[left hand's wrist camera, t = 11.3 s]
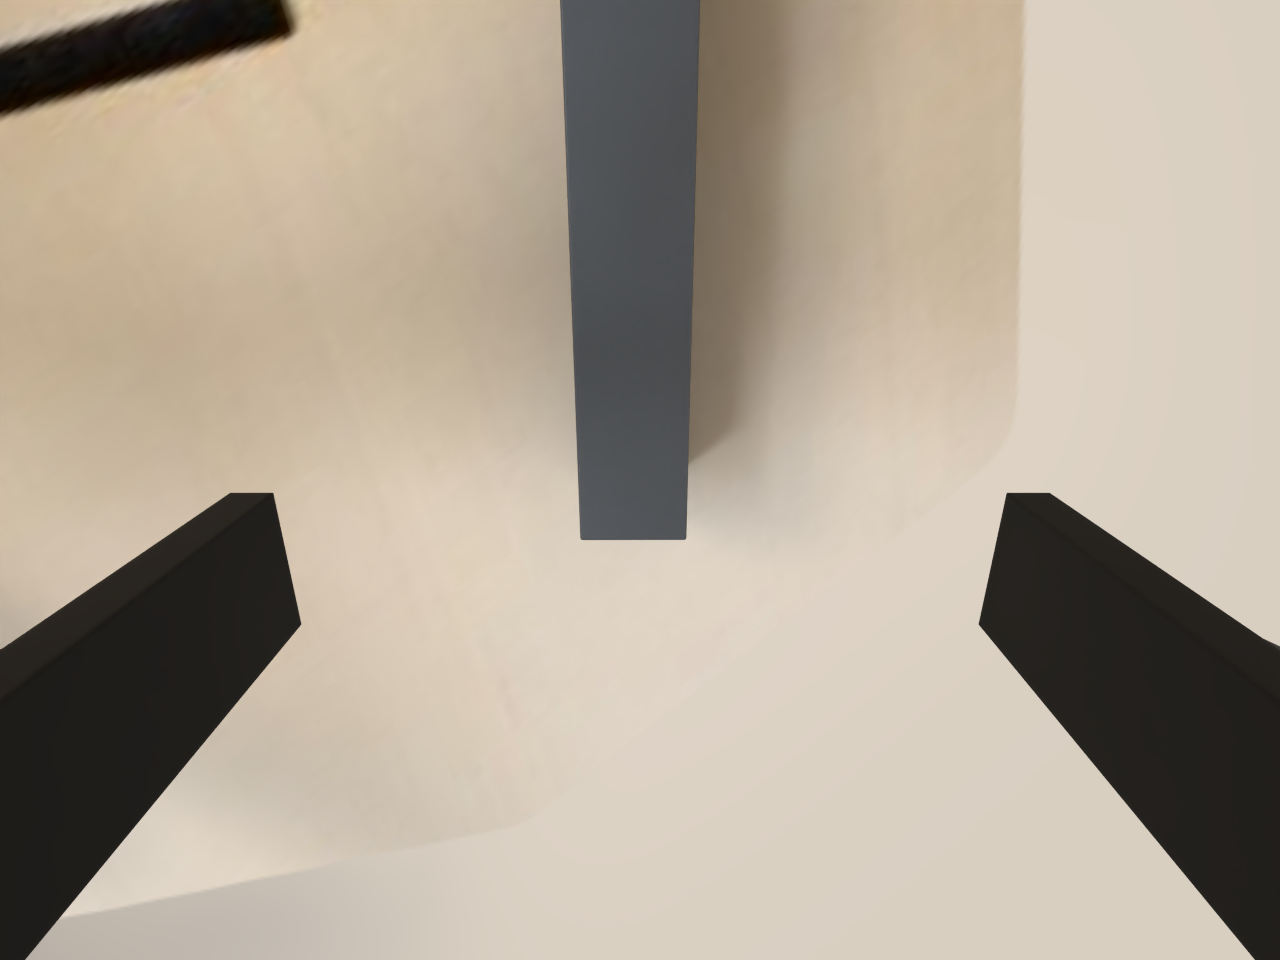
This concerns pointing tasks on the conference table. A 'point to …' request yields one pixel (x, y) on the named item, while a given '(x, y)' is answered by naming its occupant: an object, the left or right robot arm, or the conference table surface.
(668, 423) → the post
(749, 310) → the conference table surface
